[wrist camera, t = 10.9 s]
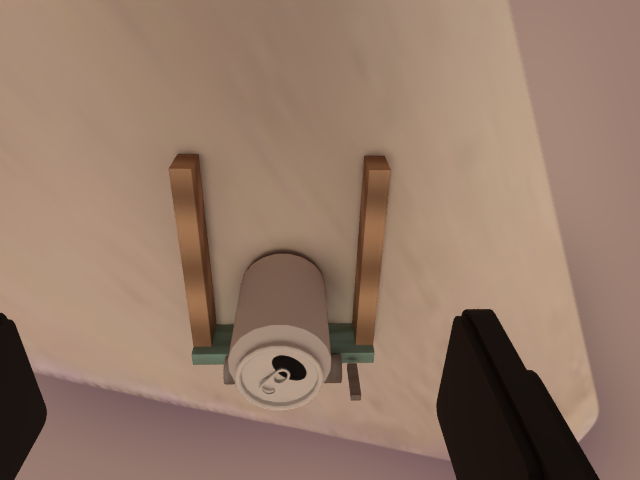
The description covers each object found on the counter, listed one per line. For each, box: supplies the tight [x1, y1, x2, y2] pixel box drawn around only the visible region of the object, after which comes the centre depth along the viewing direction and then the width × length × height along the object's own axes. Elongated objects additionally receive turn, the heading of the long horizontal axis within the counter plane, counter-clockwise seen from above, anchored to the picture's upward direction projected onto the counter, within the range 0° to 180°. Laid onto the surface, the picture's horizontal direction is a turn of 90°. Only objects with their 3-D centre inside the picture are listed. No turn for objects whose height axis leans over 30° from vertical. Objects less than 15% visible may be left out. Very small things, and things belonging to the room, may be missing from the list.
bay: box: [169, 154, 391, 400], centre depth 39 cm, size 19×16×9 cm
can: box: [228, 254, 331, 410], centre depth 39 cm, size 8×8×12 cm
